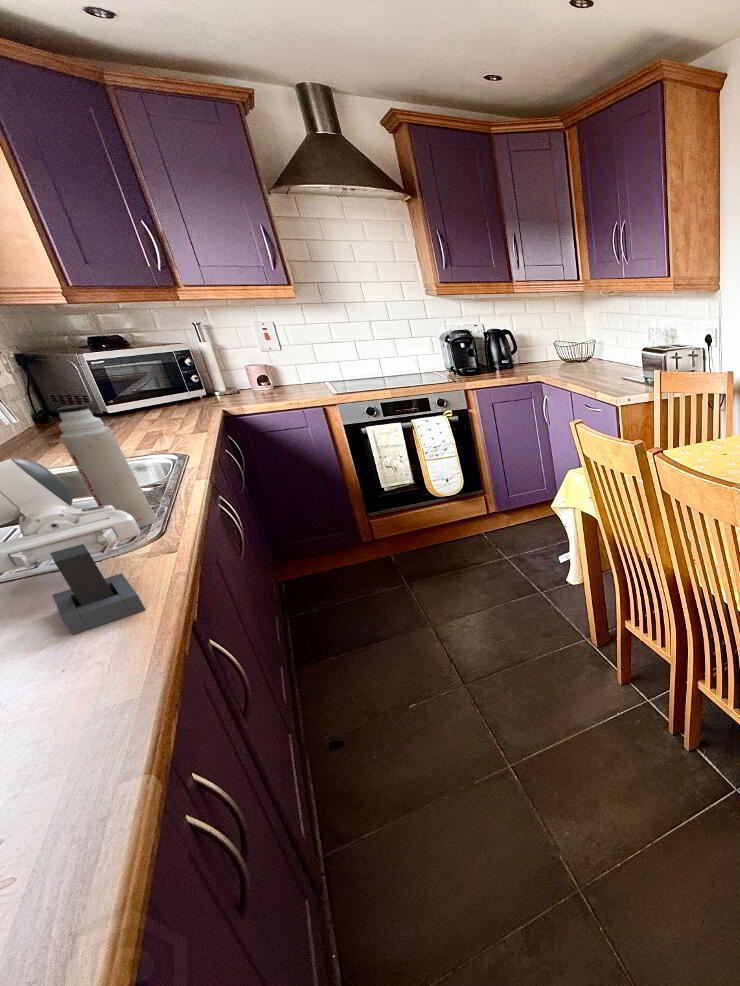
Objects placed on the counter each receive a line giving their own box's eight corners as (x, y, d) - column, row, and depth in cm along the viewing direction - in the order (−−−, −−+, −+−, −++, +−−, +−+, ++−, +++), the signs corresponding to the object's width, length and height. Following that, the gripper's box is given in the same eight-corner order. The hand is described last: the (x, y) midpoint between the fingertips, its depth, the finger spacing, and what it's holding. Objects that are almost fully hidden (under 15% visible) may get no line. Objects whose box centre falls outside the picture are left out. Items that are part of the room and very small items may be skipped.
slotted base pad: (61, 609, 101) (51, 594, 100) (129, 587, 107) (121, 573, 106) (72, 635, 93) (62, 619, 92) (146, 609, 99) (137, 594, 98)
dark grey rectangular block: (81, 604, 100) (49, 552, 96) (113, 594, 103) (83, 543, 98) (87, 615, 96) (54, 561, 92) (119, 604, 99) (88, 552, 95)
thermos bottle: (110, 534, 132) (41, 412, 120) (113, 525, 137) (48, 406, 125) (156, 524, 136) (94, 405, 124) (157, 515, 142) (98, 400, 130)
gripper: (-34, 539, 102) (-32, 559, 94) (121, 501, 116) (135, 515, 108) (-13, 571, 104) (-8, 592, 96) (137, 530, 119) (151, 546, 111)
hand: (69, 551), depth 102 cm, fingers open, 8 cm apart
